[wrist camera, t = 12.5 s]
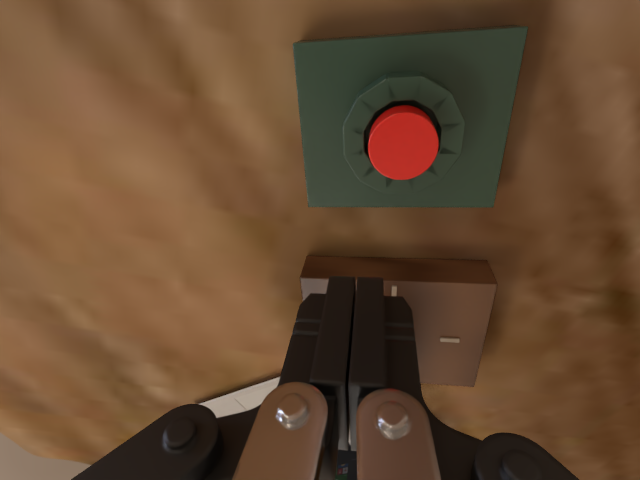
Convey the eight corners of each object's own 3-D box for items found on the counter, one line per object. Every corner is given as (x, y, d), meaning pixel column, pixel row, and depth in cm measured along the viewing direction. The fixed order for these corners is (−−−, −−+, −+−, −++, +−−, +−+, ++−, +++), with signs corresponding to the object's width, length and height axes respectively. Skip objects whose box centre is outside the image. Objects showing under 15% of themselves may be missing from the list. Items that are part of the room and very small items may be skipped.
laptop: (314, 360, 37) (285, 509, 26) (376, 430, 41) (374, 581, 30) (191, 402, 44) (127, 533, 33) (256, 458, 48) (219, 588, 37)
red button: (369, 169, 22) (367, 180, 20) (369, 106, 20) (367, 113, 18) (431, 168, 21) (435, 180, 20) (437, 103, 19) (442, 110, 18)
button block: (313, 193, 27) (303, 219, 24) (300, 40, 22) (285, 45, 19) (485, 193, 25) (501, 221, 22) (515, 24, 20) (541, 27, 17)
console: (316, 349, 36) (311, 376, 33) (306, 255, 30) (299, 279, 27) (467, 359, 34) (474, 388, 31) (487, 259, 28) (498, 285, 25)
